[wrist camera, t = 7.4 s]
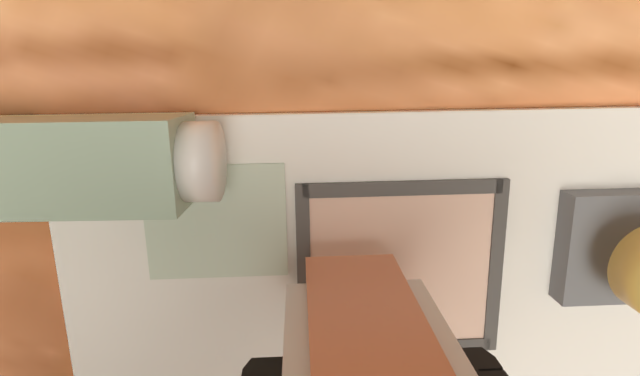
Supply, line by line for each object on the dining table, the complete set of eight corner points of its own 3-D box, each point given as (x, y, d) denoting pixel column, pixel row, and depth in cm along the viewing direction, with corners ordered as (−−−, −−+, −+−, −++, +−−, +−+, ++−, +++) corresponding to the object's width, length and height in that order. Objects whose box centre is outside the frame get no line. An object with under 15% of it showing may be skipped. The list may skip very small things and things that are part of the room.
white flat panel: (87, 406, 23) (68, 437, 21) (42, 117, 20) (14, 122, 18) (643, 380, 24) (673, 407, 22) (691, 105, 21) (732, 108, 19)
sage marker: (-15, 197, 20) (-83, 223, 16) (-31, 115, 19) (-106, 125, 15) (229, 194, 20) (211, 218, 16) (224, 111, 19) (204, 119, 15)
